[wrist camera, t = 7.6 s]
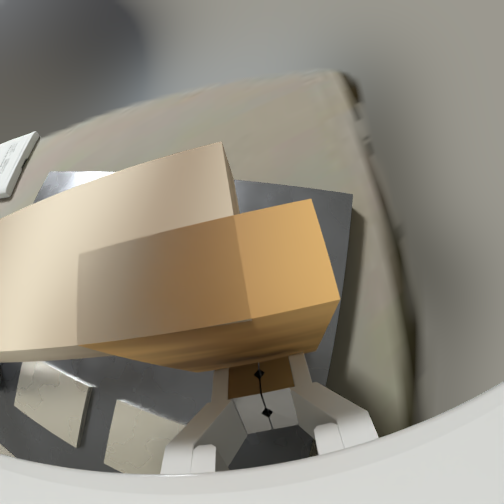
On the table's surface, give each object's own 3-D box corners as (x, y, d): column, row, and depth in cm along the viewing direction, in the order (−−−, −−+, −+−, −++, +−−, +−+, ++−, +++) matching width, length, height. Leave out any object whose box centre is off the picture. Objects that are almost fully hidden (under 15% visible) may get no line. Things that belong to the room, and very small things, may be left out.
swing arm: (-18, 380, 14) (-114, 352, 6) (-17, 322, 15) (-107, 280, 8) (315, 350, 12) (340, 299, 5) (295, 261, 14) (287, 127, 7)
